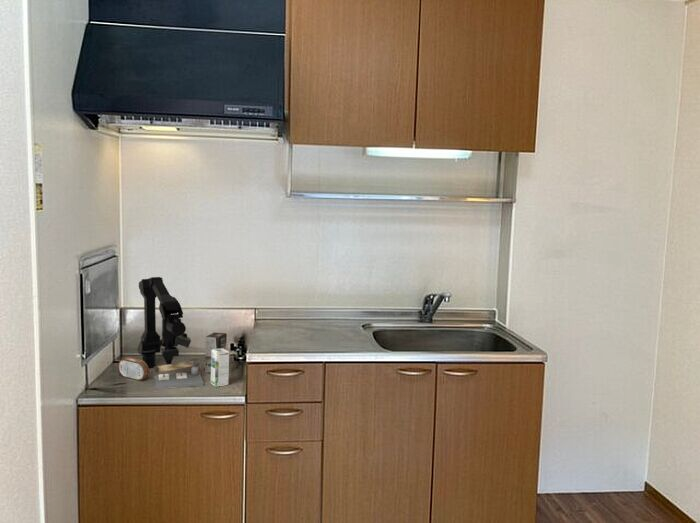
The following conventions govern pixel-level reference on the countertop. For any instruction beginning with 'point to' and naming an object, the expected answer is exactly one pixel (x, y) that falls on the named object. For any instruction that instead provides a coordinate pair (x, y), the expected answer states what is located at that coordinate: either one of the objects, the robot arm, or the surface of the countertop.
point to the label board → (179, 379)
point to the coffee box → (213, 347)
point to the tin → (133, 368)
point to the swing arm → (176, 366)
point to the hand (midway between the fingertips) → (169, 366)
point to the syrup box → (219, 367)
